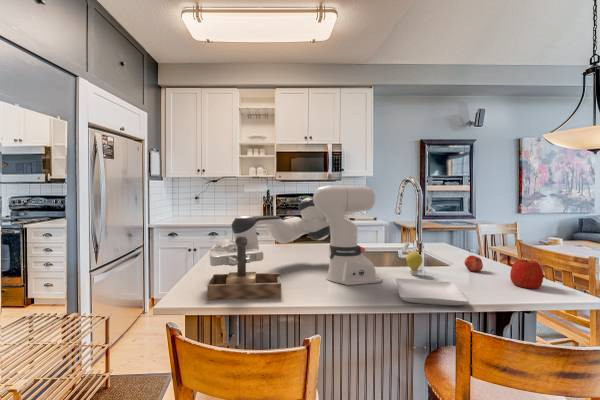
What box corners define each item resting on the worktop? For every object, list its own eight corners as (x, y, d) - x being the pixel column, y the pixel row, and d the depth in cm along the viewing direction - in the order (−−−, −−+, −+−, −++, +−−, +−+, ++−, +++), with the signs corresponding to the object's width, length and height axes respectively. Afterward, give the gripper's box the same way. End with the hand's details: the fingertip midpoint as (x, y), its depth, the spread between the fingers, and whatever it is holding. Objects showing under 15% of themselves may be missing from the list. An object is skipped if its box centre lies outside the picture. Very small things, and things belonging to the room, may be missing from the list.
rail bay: (279, 285, 130) (279, 272, 130) (280, 297, 116) (280, 283, 116) (214, 287, 128) (214, 274, 127) (207, 300, 114) (207, 285, 113)
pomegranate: (461, 274, 155) (469, 265, 147) (460, 259, 159) (467, 250, 151) (478, 276, 154) (487, 268, 146) (477, 262, 158) (485, 253, 150)
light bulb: (406, 276, 143) (406, 253, 143) (405, 272, 150) (405, 250, 149) (422, 277, 142) (423, 254, 141) (421, 273, 148) (421, 251, 148)
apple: (541, 284, 132) (542, 258, 132) (544, 292, 123) (546, 263, 122) (509, 280, 138) (510, 254, 137) (510, 287, 128) (511, 260, 128)
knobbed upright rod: (256, 284, 127) (255, 233, 126) (255, 292, 118) (254, 237, 117) (229, 285, 126) (228, 233, 125) (226, 293, 117) (225, 237, 116)
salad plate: (469, 311, 106) (469, 300, 105) (399, 305, 110) (399, 295, 110) (452, 290, 126) (453, 281, 126) (394, 286, 131) (394, 277, 130)
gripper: (257, 259, 137) (269, 266, 125) (206, 264, 128) (214, 273, 116) (257, 243, 137) (269, 250, 125) (206, 248, 128) (214, 255, 116)
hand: (242, 261), depth 120 cm, fingers closed on knobbed upright rod, 3 cm apart
